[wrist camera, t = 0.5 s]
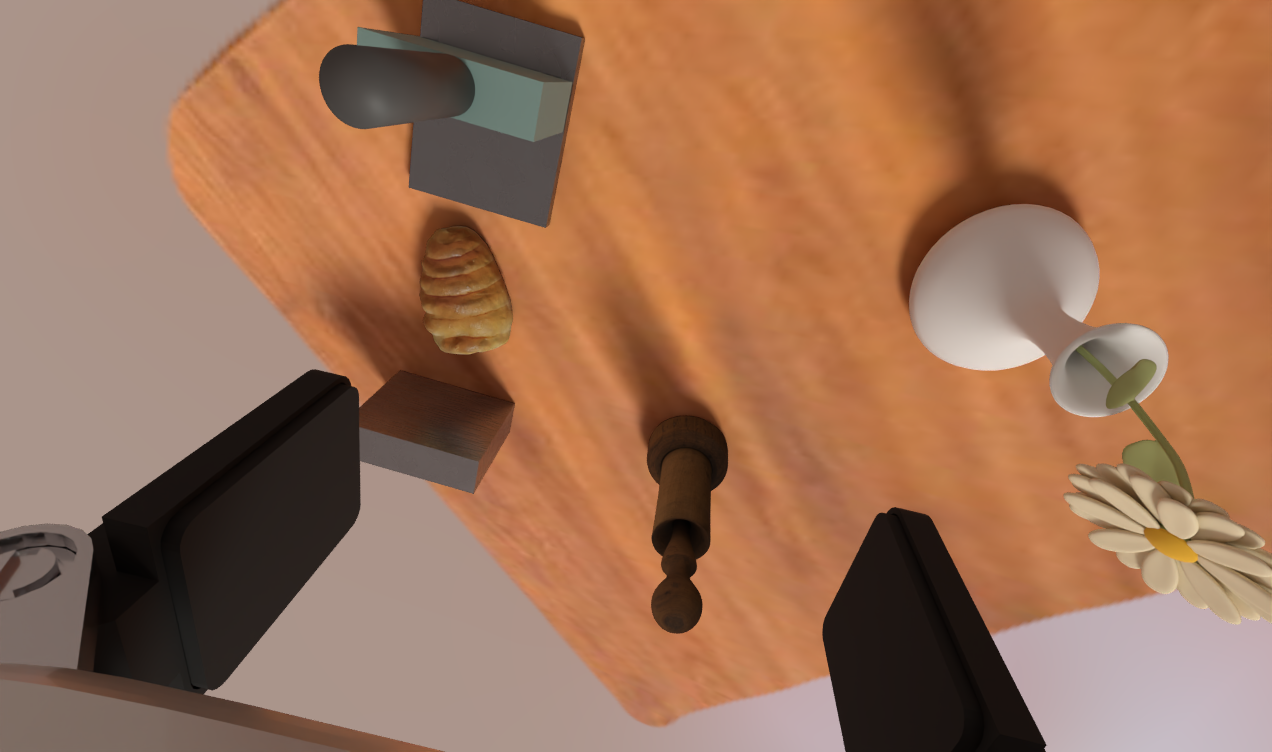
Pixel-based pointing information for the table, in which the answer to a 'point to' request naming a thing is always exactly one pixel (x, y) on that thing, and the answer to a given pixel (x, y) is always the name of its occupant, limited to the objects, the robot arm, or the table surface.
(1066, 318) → the flower in vase
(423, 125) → the dark grey flat plate
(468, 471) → the block
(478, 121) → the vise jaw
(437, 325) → the pastry
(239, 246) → the table surface
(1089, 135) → the table surface
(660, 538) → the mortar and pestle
